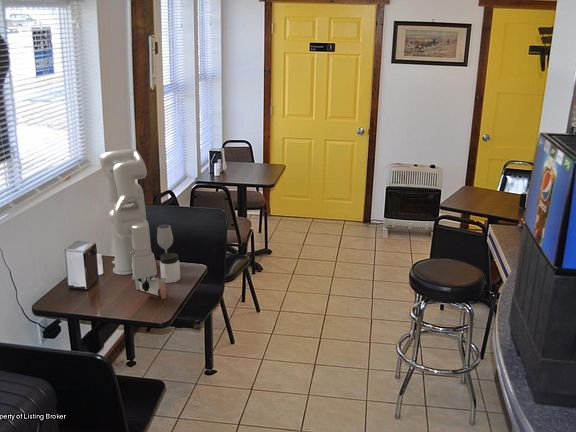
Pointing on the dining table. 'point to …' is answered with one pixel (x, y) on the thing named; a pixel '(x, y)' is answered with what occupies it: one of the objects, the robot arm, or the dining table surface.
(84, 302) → the dining table surface
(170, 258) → the jar
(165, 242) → the wineglass
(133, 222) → the robot arm
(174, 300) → the dining table surface
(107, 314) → the dining table surface
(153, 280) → the gate
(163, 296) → the end post
